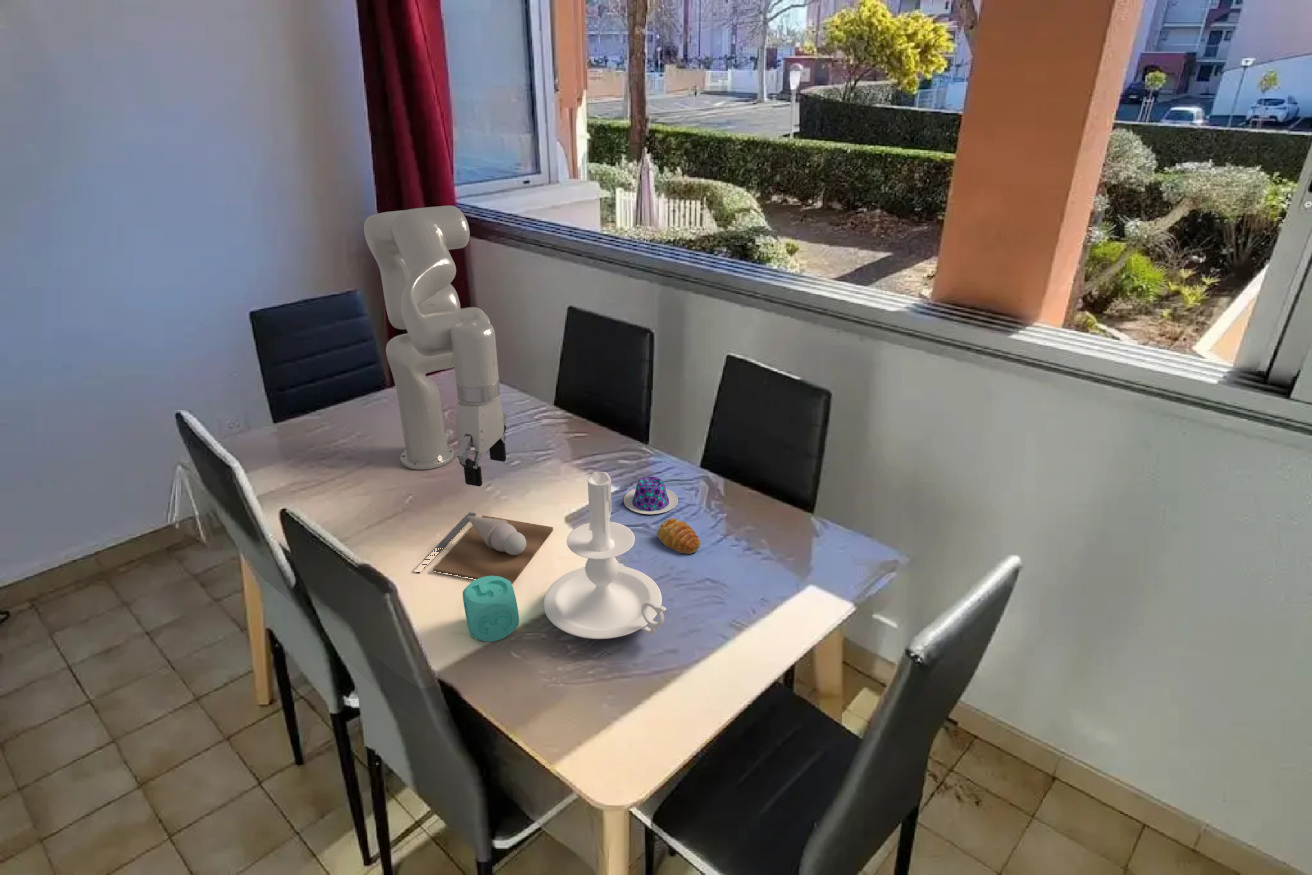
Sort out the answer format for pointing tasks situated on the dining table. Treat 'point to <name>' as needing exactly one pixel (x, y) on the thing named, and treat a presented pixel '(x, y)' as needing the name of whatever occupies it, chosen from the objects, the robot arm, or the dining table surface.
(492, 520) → the ice cream cone
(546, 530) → the board
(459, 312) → the robot arm
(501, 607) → the decorative dice
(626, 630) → the candlestick
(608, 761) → the dining table surface
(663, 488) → the pudding
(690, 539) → the pastry
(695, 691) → the dining table surface
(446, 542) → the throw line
